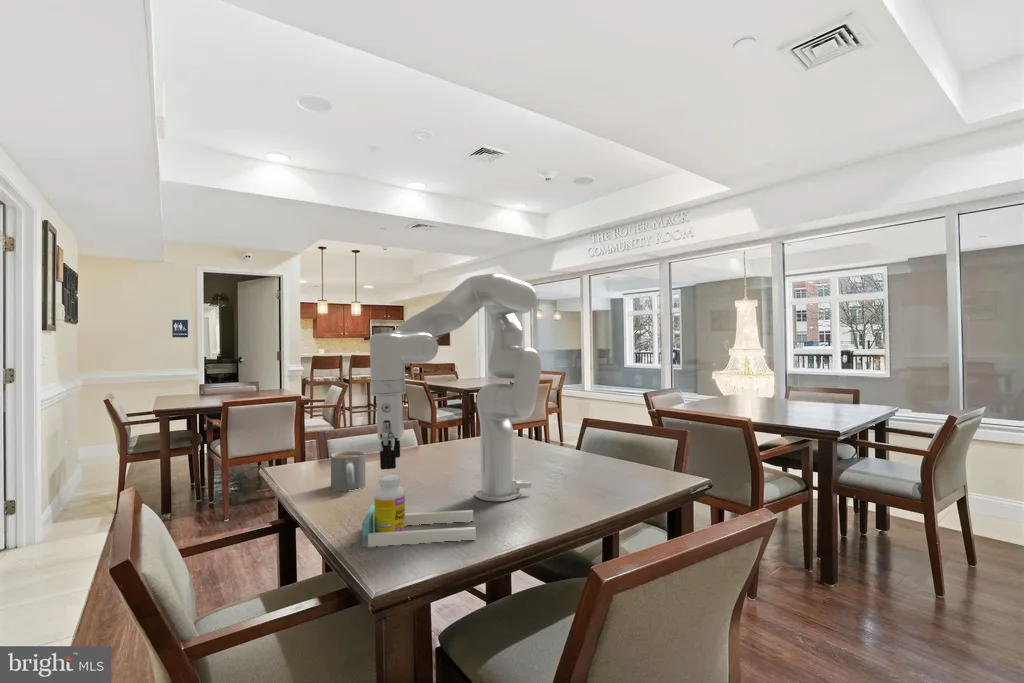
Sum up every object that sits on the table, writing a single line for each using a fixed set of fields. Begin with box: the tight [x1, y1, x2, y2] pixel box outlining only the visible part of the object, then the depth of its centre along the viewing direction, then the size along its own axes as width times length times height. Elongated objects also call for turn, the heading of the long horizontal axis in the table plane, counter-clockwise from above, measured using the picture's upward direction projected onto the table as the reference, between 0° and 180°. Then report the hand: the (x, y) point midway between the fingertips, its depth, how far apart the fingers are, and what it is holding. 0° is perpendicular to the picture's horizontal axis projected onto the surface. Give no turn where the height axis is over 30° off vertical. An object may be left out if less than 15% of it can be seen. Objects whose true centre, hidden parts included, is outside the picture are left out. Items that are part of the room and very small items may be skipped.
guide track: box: [361, 504, 477, 548], centre depth 110 cm, size 24×12×5 cm, turn 98°
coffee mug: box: [330, 450, 366, 492], centre depth 145 cm, size 13×10×10 cm
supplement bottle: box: [374, 474, 406, 533], centre depth 109 cm, size 7×7×13 cm
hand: (390, 462), depth 110 cm, fingers open, 9 cm apart
